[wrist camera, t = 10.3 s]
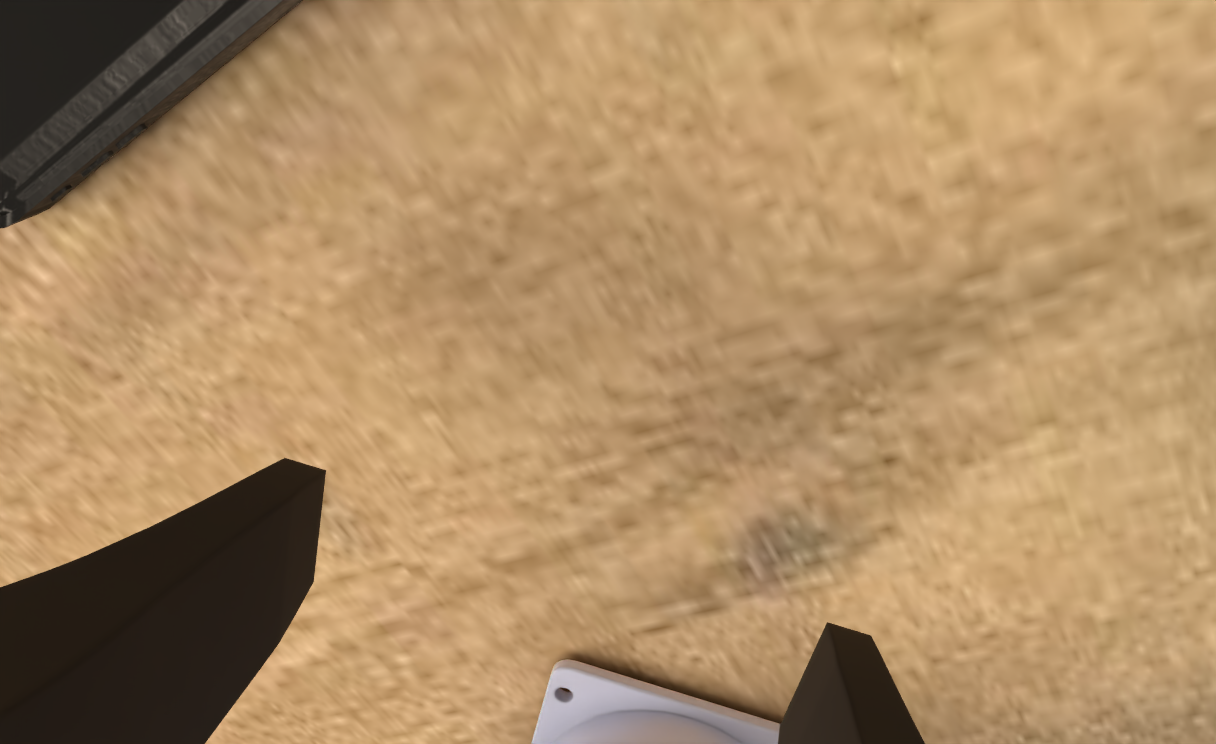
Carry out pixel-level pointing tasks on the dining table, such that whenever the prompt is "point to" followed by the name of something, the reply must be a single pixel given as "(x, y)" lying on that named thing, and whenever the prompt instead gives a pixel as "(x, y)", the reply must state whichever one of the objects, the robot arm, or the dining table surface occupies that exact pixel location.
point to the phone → (101, 81)
